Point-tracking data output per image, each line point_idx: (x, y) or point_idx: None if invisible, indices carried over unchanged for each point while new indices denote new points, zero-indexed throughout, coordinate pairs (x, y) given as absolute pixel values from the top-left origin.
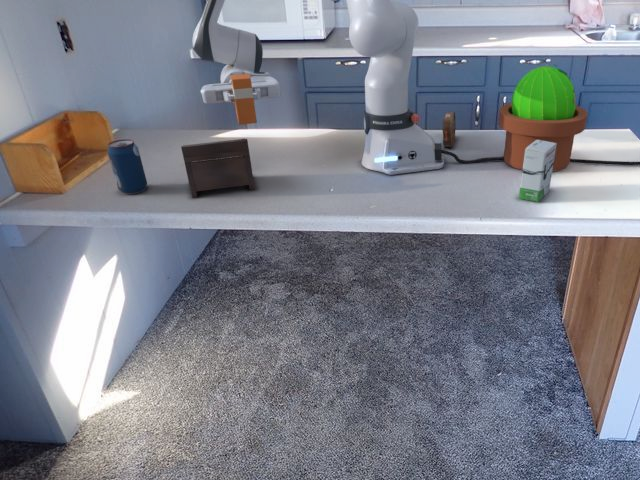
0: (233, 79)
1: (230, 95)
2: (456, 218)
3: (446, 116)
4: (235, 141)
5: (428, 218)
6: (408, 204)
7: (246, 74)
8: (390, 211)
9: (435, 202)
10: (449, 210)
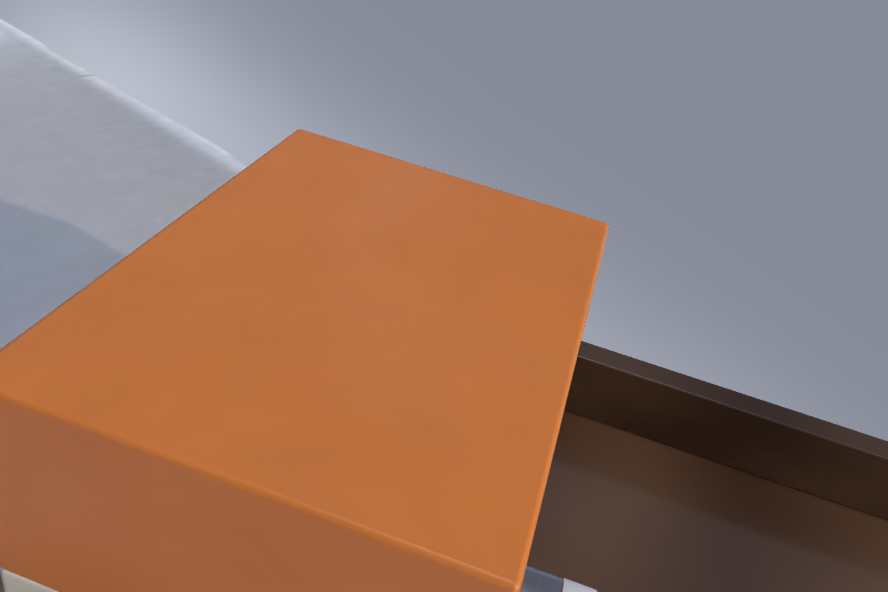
0: (584, 219)
1: (562, 579)
2: (120, 96)
3: None
4: (608, 350)
5: (166, 123)
6: (117, 165)
7: (97, 334)
8: (197, 174)
9: (52, 136)
10: (84, 111)
